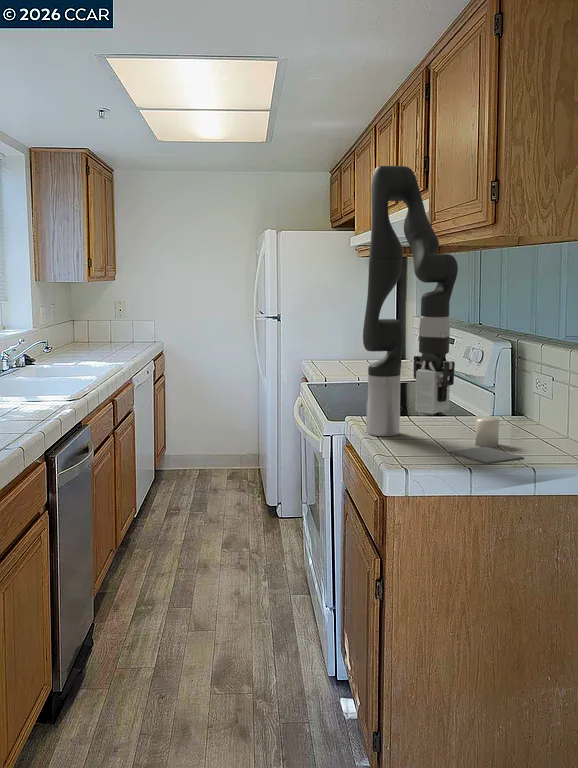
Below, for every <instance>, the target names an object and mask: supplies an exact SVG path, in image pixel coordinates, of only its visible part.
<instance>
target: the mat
mask: <svg viewBox="0 0 578 768" xmlns="http://www.w3.org/2000/svg"><path fill="white" fill-rule="evenodd" d="M449 453H450V454H452V455H456V456H459V457H463V458H466V459H469V460H472V461H475V462H479V463H481V462H482V463H481V464H485V465H487V464H495V463H502V462H510V461H515V460H516V461H517V460H524V456H522V455H517V454H514V453H510V452H507V451H503V450H501V449H495V448H494V447H480V446H477V447H472V448H465V449H456V450H449Z"/></svg>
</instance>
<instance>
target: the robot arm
mask: <svg viewBox="0 0 578 768" xmlns="http://www.w3.org/2000/svg"><path fill="white" fill-rule="evenodd" d="M370 187H371V188H370V191H371V193H370V194H371V196H370V199H371V203H370V204H371V231H370V245H369V246H370V247H369V256H368V280H367V283H368V284H367V298H366V307H365V311H364V312H365V314H364V321H363V327H362V329H363V330H362V344H363V346H364V349H365V351H367V352H386V354H385V356H384V357H382V358H381V359H379V360H378V361H375V362H373V363H371V364H369V365H368V369H367V373H368V374H367V382H368V383H367V400H366V432H367V434H368V435H370V436H376V437H394V436H398V435H400V430H401V428H400V427H401V424H400V422H401V368H402V355H403V342H404V341H403V339H404V330H403V324H402V322H401V321H400V320H399V319H397V318H380V314H381V312H382V311H381V310H382V307H383V305H384V302H386V299H387V298H388V296H389V294H390V293H391V292H392V290H393V289H394V287H395V286H396V285H397V283H398V282H399V280H400V278H401V276H402V270H403V259H404V258H403V257H404V250H403V246H402V243H401V242H400V240H399V237H398V236H397V234H396V232H395V230H394V229H393V226H392V223H391V221H390V214H389V202H404V204H405V205H406V207H407V212H406V216H405V218H404V222H403V234H404V237H405V239H406V241H407V243H408V245H409V248H410V250H411V252H412V253H411V254H412V260H413V271H414V274H415V276H416V278H417V279H418V280H419V281H421V282H422V283H429V284H430V283H437V285H436V287H435V288H434V290H432V291H429V292H425V293H423V294H422V295H421V300H420V320H419V326H418V327H419V328H418V329H419V330H418V332H419V333H418V335H419V336H418V340H419V341H418V352H419V353H420V354H421V355H414V356H413V379H415V380H416V371H418V370H423V369H427V370H432V371H433V372H442V371H443V374H438V375H437V378H438V386H439V387H438V397H437V400H438V402H445V401H446V398H447V387H448V386H449V385H450V386H453V385H454V382H455V380H454V379H455V368H456V367H455V365H456V364H455V363H456V362H455V361H451V360H450V361H448V360H447V358H446V357H447V356H446V355H447V354H448V353H449V352H450V333H451V332H450V331H451V330H450V329H451V328H450V327H451V325H450V324H451V323H450V301H451V297H452V293H453V289H454V287H455V283H456V281H457V276H458V272H459V267H458V262H457V260H456V258H455V256H453V255H452V254H451V253H450V254H449V253H437V252H438V250H439V248H440V242H439V238H438V236H437V235H436V233H435V230H434V229H433V227H432V225H431V223H430V221H429V218H428V215H427V212H426V209H425V206H424V205H425V204H424V201H423V198H422V194H421V191H420V188H419V183H418V180H417V177H416V174H415V172H414V171H413V170H412V169H411V168H410V167H409V166H405V165H379V166H377V167H376V168H374V170H373V173H372V176H371V186H370ZM448 376H449V380H448ZM441 379H443V382H442V381H441Z"/></svg>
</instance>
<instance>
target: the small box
mask: <svg viewBox="0 0 578 768" xmlns="http://www.w3.org/2000/svg"><path fill="white" fill-rule="evenodd" d="M438 374H443V371H442V372H433V371H432V370H427V369H423V370H420V369H419V370H418V371H416V379H415V409H414V410H415V412H417V413H418V412H419V413H425V414H432V415H434V414H437V413H441V412H444V411H448V410H449V409H450V393H451V392H450V391H451V389H450V388H451V385H449V386H448V387H447V398H446V401H445V402H438V400H437V397H438V387H439V386H438V378H437V375H438ZM448 380H449V376H448ZM441 381H442V382H443V379H441Z"/></svg>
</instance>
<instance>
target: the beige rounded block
mask: <svg viewBox="0 0 578 768" xmlns="http://www.w3.org/2000/svg"><path fill="white" fill-rule="evenodd" d="M499 432H500V419H499V418H496V417H477V418H476V419H475V444H474V445H475V446H476V447H489V448H497V447H498V446H499V437H500V435H499Z"/></svg>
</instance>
